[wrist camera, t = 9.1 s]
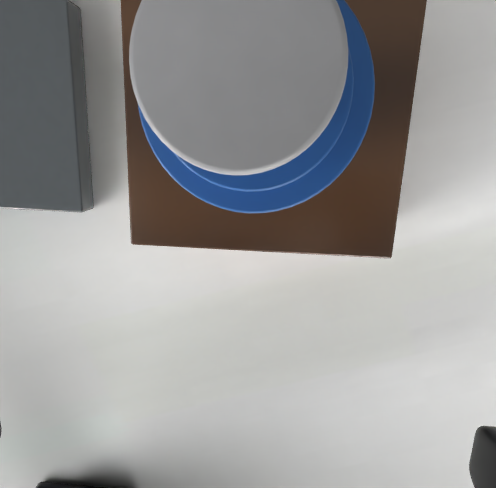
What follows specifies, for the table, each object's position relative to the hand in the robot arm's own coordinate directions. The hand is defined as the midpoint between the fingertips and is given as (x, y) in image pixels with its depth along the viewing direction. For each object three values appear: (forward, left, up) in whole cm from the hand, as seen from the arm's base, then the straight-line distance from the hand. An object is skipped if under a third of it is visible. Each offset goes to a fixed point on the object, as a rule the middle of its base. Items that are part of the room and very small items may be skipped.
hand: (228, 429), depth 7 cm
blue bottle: (+6, 0, -8) cm, 10 cm away
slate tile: (+6, +13, -13) cm, 19 cm away
